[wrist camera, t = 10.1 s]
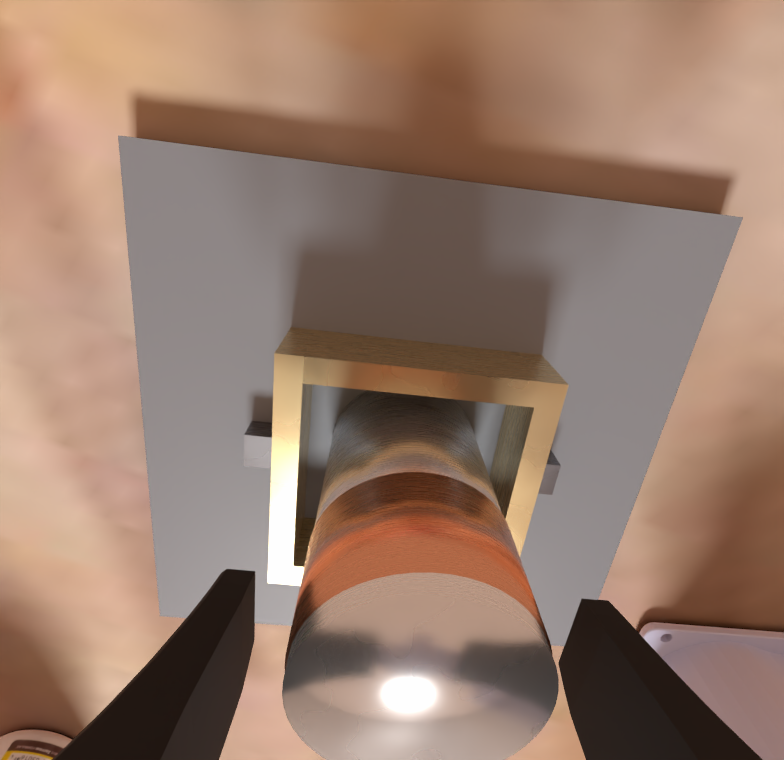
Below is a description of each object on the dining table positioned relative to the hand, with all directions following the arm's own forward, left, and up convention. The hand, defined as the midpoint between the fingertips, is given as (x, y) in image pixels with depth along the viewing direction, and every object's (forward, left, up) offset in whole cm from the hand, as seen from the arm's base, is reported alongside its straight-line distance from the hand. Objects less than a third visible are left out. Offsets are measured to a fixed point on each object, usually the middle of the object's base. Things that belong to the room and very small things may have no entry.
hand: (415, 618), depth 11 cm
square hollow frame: (0, 0, -8) cm, 8 cm away
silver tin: (0, 0, -7) cm, 7 cm away
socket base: (0, 0, -8) cm, 8 cm away
